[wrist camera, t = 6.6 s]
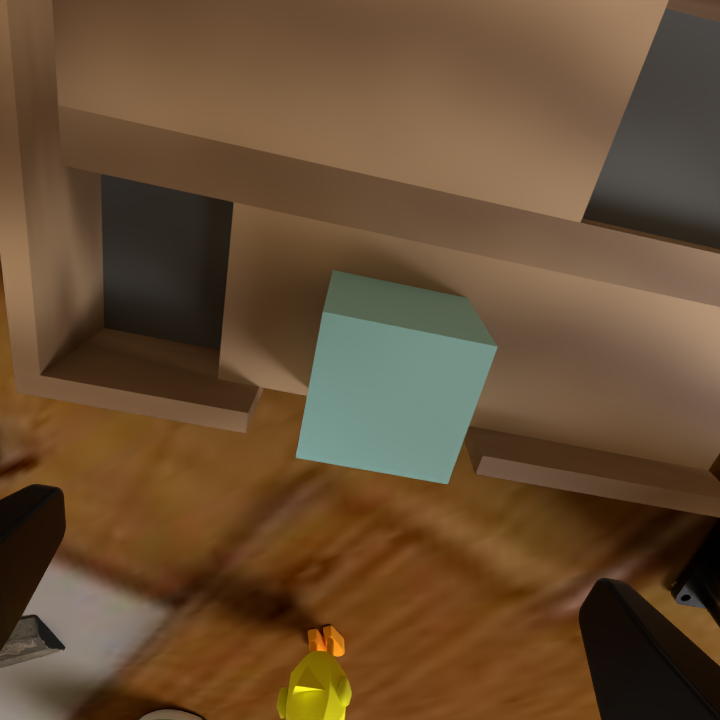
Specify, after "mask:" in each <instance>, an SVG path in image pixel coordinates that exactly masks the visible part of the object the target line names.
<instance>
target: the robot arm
mask: <svg viewBox="0 0 720 720" xmlns="http://www.w3.org/2000/svg"><path fill="white" fill-rule="evenodd" d="M65 528H66V520H65V506H64V494H63V491H62V490H61V489H60V488H58V487H53V486H47V485H41V484H33V485H30V486H27V487H25V488H23V489H21V490H19V491H17V492H15V493H13V494H11V495H9V496H7V497H5V498H3V499H1V500H0V652H1V650H2V649H3V647H4V646H5V644H6V642H7V641H8V639H9V638H10V636H11V634H12V632H13V631H14V629H15V627H16V625H17V624H18V622H19V620H20V618H21V616H22V614H23V612H24V611H25V609H26V607H27V605H28V603H29V601H30V599H31V598H32V596H33V594H34V592H35V590H36V588H37V586H38V584H39V583H40V581H41V579H42V577H43V575H44V573H45V571H46V570H47V568H48V566H49V564H50V562H51V560H52V558H53V556H54V555H55V553H56V551H57V549H58V547H59V545H60V543H61V541H62V539H63V537H64V533H65ZM671 595H672V596H673V598H674V599H675V601H676V602H677V603H678V604H681V605H687V606H693V607H699V608H706V609H707V611H708V612H709V613H710V615H711V616H712V618H713V619H714V620H715V622H716V623H717V624H718V626H719V627H720V522H719V524H718V525H717V527H716V528H715V530H714V531H713V532H712V534H711V535H710V537H709V538H708V540H707V541H706V542H705V544H704V545H703V547H702V548H701V549H700V551H699V552H698V554H697V555H696V557H695V558H694V559H693V561H692V562H691V564H690V565H689V566H688V568H687V569H686V571H685V572H684V574H683V575H682V576H681V578H680V579H679V581H678V582H677V584H676V585H675V586H674V588H673V589H672V591H671ZM579 625H580V629H581V634H582V638H583V642H584V647H585V651H586V656H587V660H588V665H589V669H590V674H591V678H592V682H593V687H594V691H595V696H596V700H597V705H598V708H599V712H600V716H601V720H720V666H719V665H718V664H717V663H715V662H714V661H713V660H712V659H711V658H710V657H709V656H708V655H707V654H705V653H704V652H703V651H702V650H701V649H700V648H699V647H698V646H697V645H695V644H694V643H693V642H692V641H691V640H690V639H689V638H688V637H687V636H685V635H684V634H683V633H682V632H681V631H680V630H679V629H678V628H676V627H675V626H674V625H673V624H672V623H671V622H670V621H669V620H668V619H666V618H665V617H664V616H663V615H662V614H661V613H660V612H659V611H658V610H656V609H655V608H654V607H653V606H652V605H651V604H650V603H649V602H648V601H646V600H645V599H644V598H643V597H642V596H641V595H640V594H639V593H638V592H636V591H635V590H634V589H633V588H632V587H631V586H630V585H628V584H627V583H625V582H623V581H620V580H614V579H608V578H601V579H599V580H597V582H596V583H595V584H594V586H593V588H592V589H591V591H590V593H589V594H588V596H587V597H586V599H585V601H584V602H583V604H582V606H581V608H580V611H579Z"/></svg>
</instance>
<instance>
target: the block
mask: <svg viewBox="0 0 720 720" xmlns="http://www.w3.org/2000/svg"><path fill="white" fill-rule="evenodd" d="M497 347H498V346H497V345H496V343H495V341H494V340H493V338H492V337H491V335H490V334H489V332H488V330H487V329H486V327H485V326H484V324H483V322H482V321H481V319H480V318H479V316H478V314H477V313H476V311H475V310H474V308H473V306H472V305H471V303H470V302H469V300H468V298H465V297H460V296H455V295H451V294H446V293H441V292H436V291H431V290H427V289H422V288H417V287H412V286H407V285H403V284H398V283H393V282H388V281H383V280H378V279H374V278H369V277H364V276H359V275H354V274H350V273H345V272H340V271H335V270H333V272H332V276H331V280H330V284H329V288H328V292H327V297H326V301H325V305H324V309H323V314H322V319H321V324H320V330H319V335H318V340H317V346H316V351H315V357H314V362H313V367H312V373H311V378H310V384H309V389H308V394H307V400H306V405H305V411H304V416H303V421H302V427H301V432H300V438H299V443H298V448H297V454H296V458H301V459H306V460H312V461H318V462H324V463H329V464H335V465H341V466H346V467H352V468H358V469H364V470H369V471H375V472H381V473H386V474H392V475H398V476H403V477H409V478H415V479H421V480H426V481H432V482H438V483H443V484H448V482H449V479H450V476H451V474H452V471H453V468H454V465H455V463H456V460H457V457H458V454H459V452H460V449H461V446H462V443H463V441H464V438H465V435H466V433H467V430H468V427H469V424H470V422H471V419H472V416H473V413H474V411H475V408H476V405H477V402H478V400H479V397H480V394H481V391H482V389H483V386H484V383H485V380H486V378H487V375H488V372H489V369H490V367H491V364H492V361H493V358H494V356H495V353H496V350H497Z"/></svg>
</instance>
